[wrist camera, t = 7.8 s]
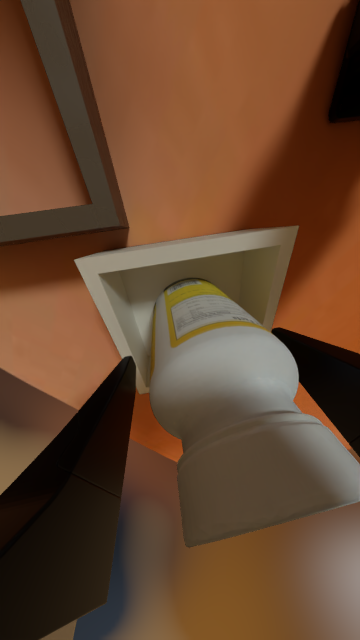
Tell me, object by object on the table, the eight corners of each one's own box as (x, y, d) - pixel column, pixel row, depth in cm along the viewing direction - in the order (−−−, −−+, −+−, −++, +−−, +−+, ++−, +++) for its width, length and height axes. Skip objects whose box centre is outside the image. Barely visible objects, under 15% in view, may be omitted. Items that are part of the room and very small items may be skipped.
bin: (251, 228, 11) (299, 225, 7) (237, 340, 17) (260, 369, 14) (103, 250, 11) (73, 259, 7) (143, 358, 17) (139, 394, 13)
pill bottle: (178, 346, 15) (215, 541, 6) (137, 303, 12) (60, 581, 2) (231, 315, 14) (396, 492, 4) (202, 257, 11) (563, 444, 1)
